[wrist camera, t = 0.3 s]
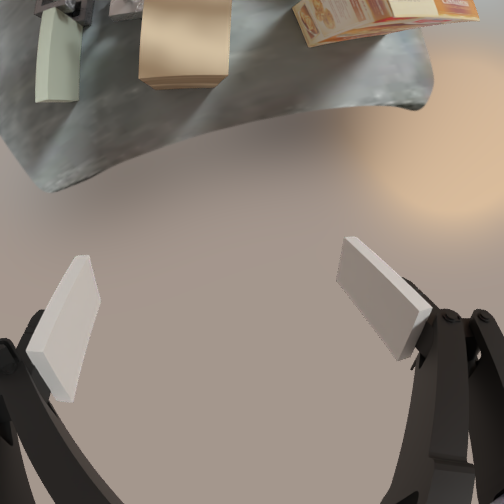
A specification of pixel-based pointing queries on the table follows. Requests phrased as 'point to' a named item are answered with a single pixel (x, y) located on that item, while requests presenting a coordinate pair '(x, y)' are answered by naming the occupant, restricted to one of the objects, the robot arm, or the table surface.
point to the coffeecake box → (375, 17)
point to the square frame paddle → (60, 48)
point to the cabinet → (180, 40)
